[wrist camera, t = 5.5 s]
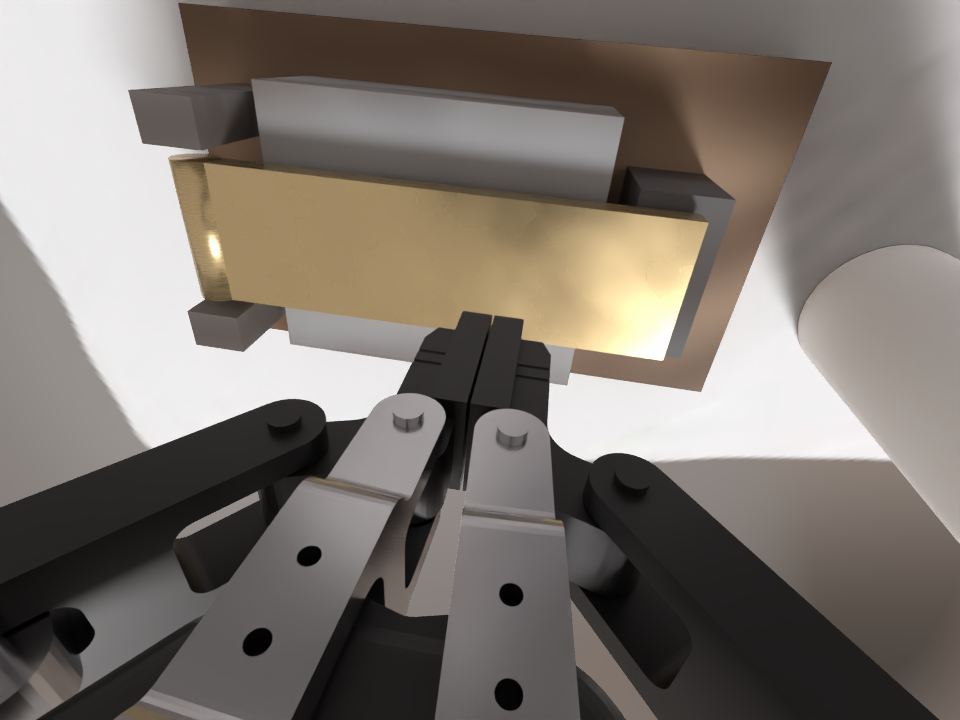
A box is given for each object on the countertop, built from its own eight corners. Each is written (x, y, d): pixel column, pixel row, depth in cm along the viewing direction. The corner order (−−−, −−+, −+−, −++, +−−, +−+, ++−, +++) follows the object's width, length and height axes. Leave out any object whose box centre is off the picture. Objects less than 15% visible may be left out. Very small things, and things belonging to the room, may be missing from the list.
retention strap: (188, 151, 17) (157, 159, 16) (698, 211, 16) (711, 225, 15) (217, 281, 20) (192, 297, 19) (656, 343, 19) (664, 365, 17)
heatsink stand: (224, 9, 21) (35, -19, 14) (797, 61, 19) (947, 62, 12) (272, 300, 29) (166, 387, 21) (687, 360, 27) (736, 479, 19)
